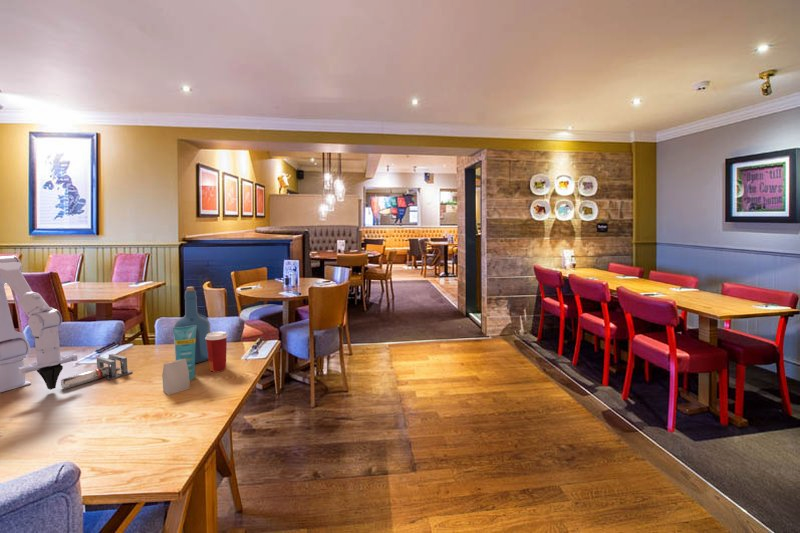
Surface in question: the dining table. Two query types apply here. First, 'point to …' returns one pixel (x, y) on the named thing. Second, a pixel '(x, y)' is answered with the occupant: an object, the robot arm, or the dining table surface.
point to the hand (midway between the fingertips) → (51, 388)
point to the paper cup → (216, 350)
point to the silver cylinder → (84, 377)
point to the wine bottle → (195, 319)
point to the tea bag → (175, 376)
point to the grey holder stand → (110, 367)
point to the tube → (186, 346)
